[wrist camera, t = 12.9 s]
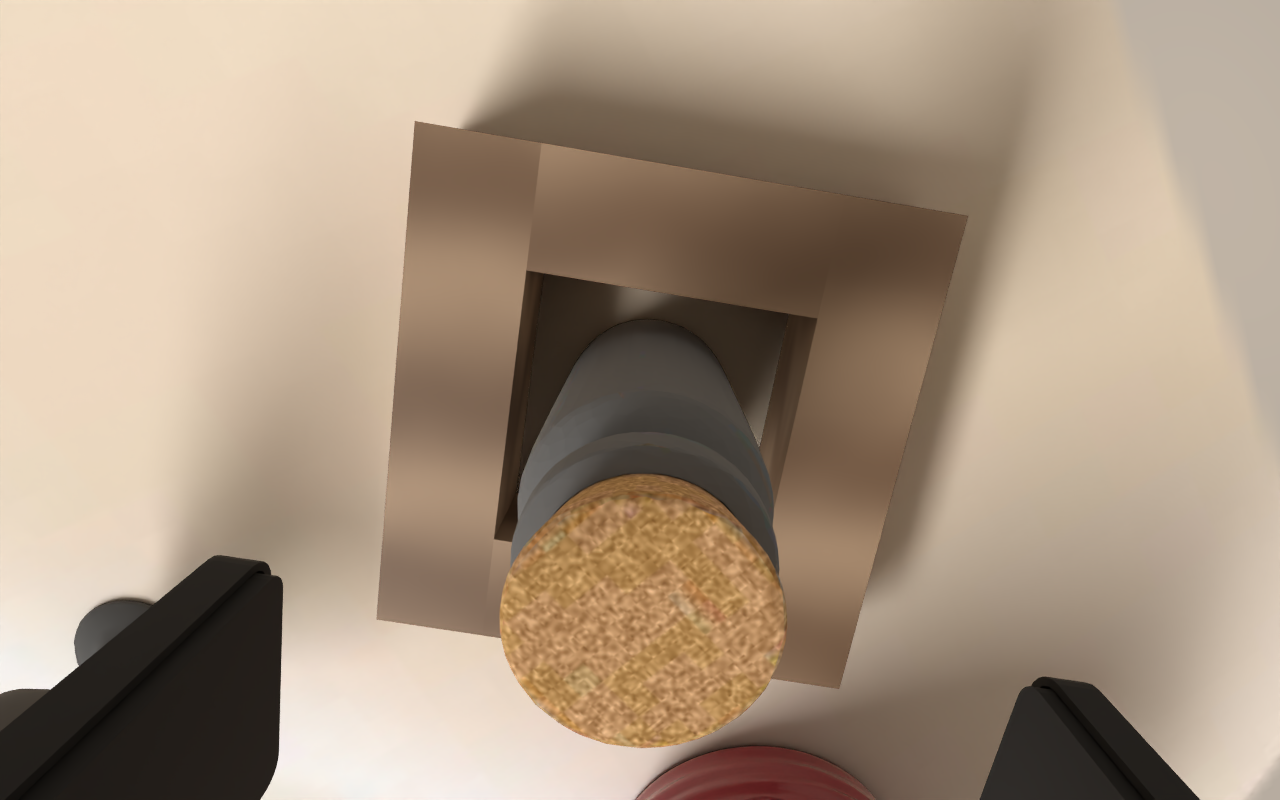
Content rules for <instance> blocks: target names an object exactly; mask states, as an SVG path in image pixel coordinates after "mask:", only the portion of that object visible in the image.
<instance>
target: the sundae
mask: <svg viewBox="0 0 1280 800" xmlns="http://www.w3.org/2000/svg"><path fill="white" fill-rule="evenodd" d="M150 607H151V606H150V605H147V604H144V603H141V602H134V601H113V602H109V603H105V604H103V605H100V606H98V607H95V608H94V609H93V610H92V611H90V612H89V613H88V614H87V615H86V616H85V617H84V618H83V619H82V620H81V622H80V624H79V626H78V629H77V631H76V635H75V640H74V645H75V653H76V658H77V663H78V665H79V666H80V665H81V664H82V663H84V662H85V661H86V660H87V659H88V658H90V657H91V656H92V655H93V654H94V653H96V652H97V651H98V650H99V649H101V648H102V647H103V646H104V645H105V644H107V643H108V642H109V641H110V640H111V639H113V638H114V637H115V636H116V635H117V634H119V633H120V632H121V631H122V630H124V629H125V628H126V627H127V626H128V625H130V624H131V623H132V622H133V621H134V620H136V619H137V618H138V617H139V616H140V615H142V614H143V613H144V612H145V611H147V610H148V609H149V608H150ZM48 691H50V690H49V689H17V690H12V691H8V692H4V693H2V694H0V731H1V730H2V729H4V728H5V727H6V726H7V725H9V724H10V723H11V722H12V721H13V720H15V719H16V718H17V717H18V716H19V715H21V714H22V713H23V712H24V711H25V710H27V709H28V708H29V707H30V706H32V705H33V704H34V703H35V702H36V701H38V700H39V699H40V698H41V697H42V696H44V695H45V694H46V693H47V692H48Z"/></svg>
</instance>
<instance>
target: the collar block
mask: <svg viewBox="0 0 1280 800" xmlns="http://www.w3.org/2000/svg"><path fill="white" fill-rule="evenodd" d="M967 218H968V216H965V215H959V214H954V213H948V212H942V211H936V210H930V209H924V208H919V207H913V206H907V205H901V204H895V203H889V202H884V201H878V200H872V199H866V198H860V197H854V196H849V195H843V194H837V193H831V192H825V191H819V190H814V189H808V188H802V187H796V186H790V185H784V184H779V183H773V182H767V181H761V180H755V179H749V178H744V177H738V176H732V175H726V174H720V173H714V172H709V171H703V170H697V169H691V168H685V167H679V166H674V165H668V164H662V163H656V162H650V161H644V160H639V159H633V158H627V157H621V156H615V155H609V154H603V153H598V152H592V151H586V150H580V149H574V148H568V147H563V146H557V145H551V144H545V143H539V142H533V141H528V140H522V139H516V138H510V137H504V136H498V135H493V134H487V133H481V132H475V131H469V130H463V129H458V128H452V127H446V126H440V125H434V124H428V123H423V122H417V121H415V126H414V139H413V152H412V165H411V178H410V191H409V204H408V217H407V230H406V243H405V256H404V269H403V282H402V295H401V308H400V321H399V334H398V347H397V360H396V373H395V386H394V399H393V412H392V425H391V438H390V451H389V464H388V477H387V490H386V503H385V516H384V529H383V542H382V555H381V568H380V581H379V594H378V608H377V620H384V621H391V622H397V623H404V624H411V625H417V626H424V627H431V628H437V629H444V630H451V631H457V632H464V633H471V634H477V635H484V636H491V637H497V638H501V635H500V605H501V598H502V592H503V588H504V585H505V581H506V578H507V575H508V573H509V571H510V560H511V546H512V540H513V535H514V532H515V529H516V526H517V523H518V493H516V490H517V482H518V474H519V466H520V458H521V450H522V442H523V434H524V427H525V419H526V411H527V403H528V395H529V387H530V379H531V372H532V364H533V356H534V348H535V340H536V332H537V324H538V316H539V309H540V301H541V293H542V285H543V277H544V273H546V274H552V275H558V276H564V277H570V278H576V279H582V280H588V281H594V282H600V283H606V284H612V285H618V286H624V287H630V288H636V289H642V290H648V291H654V292H661V293H667V294H673V295H679V296H685V297H691V298H697V299H703V300H709V301H715V302H721V303H727V304H733V305H739V306H745V307H751V308H757V309H763V310H769V311H775V312H781V313H787V314H789V316H788V321H787V325H786V330H785V334H784V339H783V344H782V348H781V353H780V357H779V362H778V367H777V371H776V376H775V380H774V385H773V390H772V394H771V399H770V403H769V408H768V413H767V417H766V422H765V426H764V431H763V435H762V440H761V445H760V449H759V450H760V453H761V455H762V458H763V460H764V463H765V465H766V468H767V470H768V473H769V476H770V481H771V486H772V491H773V500H774V517H773V530H774V533H775V536H776V541H777V547H778V555H779V569H780V570H779V578H780V581H781V584H782V587H783V590H784V595H785V600H786V606H787V634H786V641H785V645H784V649H783V653H782V657H781V659H780V662H779V664H778V666H777V669H776V671H775V672H774V674H773V676H772V678H771V679H777V680H784V681H791V682H797V683H804V684H811V685H817V686H824V687H831V688H837V689H839V687H840V684H841V680H842V676H843V673H844V669H845V665H846V662H847V658H848V654H849V651H850V647H851V643H852V640H853V636H854V632H855V629H856V625H857V621H858V618H859V614H860V610H861V607H862V603H863V599H864V596H865V592H866V588H867V585H868V581H869V577H870V574H871V570H872V566H873V563H874V559H875V555H876V552H877V548H878V544H879V541H880V537H881V533H882V530H883V526H884V522H885V519H886V515H887V511H888V508H889V504H890V500H891V497H892V493H893V489H894V486H895V482H896V478H897V475H898V471H899V467H900V464H901V460H902V456H903V453H904V449H905V445H906V442H907V438H908V434H909V431H910V427H911V423H912V420H913V416H914V412H915V409H916V405H917V401H918V398H919V394H920V390H921V387H922V383H923V379H924V376H925V372H926V368H927V365H928V361H929V357H930V354H931V350H932V346H933V343H934V339H935V335H936V332H937V328H938V324H939V321H940V317H941V313H942V310H943V306H944V302H945V299H946V295H947V291H948V288H949V284H950V280H951V277H952V273H953V269H954V266H955V262H956V258H957V255H958V251H959V247H960V244H961V240H962V236H963V233H964V229H965V225H966V222H967Z"/></svg>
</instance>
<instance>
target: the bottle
mask: <svg viewBox="0 0 1280 800" xmlns="http://www.w3.org/2000/svg"><path fill="white" fill-rule="evenodd" d="M773 517H774V500H773V491H772V486H771V481H770V476H769V473H768V470H767V468H766V465H765V463H764V460H763V458H762V455H761V453H760V450H759V448H758V445H757V443H756V440H755V438H754V435H753V433H752V431H751V429H750V426H749V424H748V422H747V420H746V418H745V416H744V413H743V411H742V409H741V407H740V405H739V403H738V401H737V398H736V396H735V394H734V392H733V390H732V388H731V386H730V383H729V381H728V379H727V377H726V375H725V373H724V371H723V368H722V367H721V365H720V363H719V361H718V360H717V358H716V356H715V355H714V354H713V352H712V351H711V350H710V348H709V347H708V346H707V345H706V344H705V343H704V342H703V341H702V340H701V339H700V338H698V337H697V336H696V335H694V334H693V333H691V332H690V331H688V330H687V329H685V328H683V327H681V326H678V325H675V324H672V323H669V322H665V321H660V320H635V321H629V322H626V323H623V324H620V325H617V326H615V327H612V328H610V329H609V330H607V331H606V332H604V333H602V334H601V335H599V336H598V337H597V338H596V339H594V340H593V341H592V342H591V343H590V344H589V345H588V347H587V348H586V349H585V350H584V351H583V353H582V354H581V355H580V357H579V359H578V360H577V362H576V363H575V365H574V367H573V369H572V371H571V372H570V374H569V376H568V378H567V380H566V382H565V384H564V386H563V388H562V390H561V392H560V394H559V396H558V398H557V400H556V402H555V403H554V405H553V407H552V409H551V411H550V413H549V415H548V417H547V420H546V422H545V424H544V426H543V428H542V430H541V432H540V434H539V436H538V438H537V440H536V442H535V444H534V446H533V448H532V451H531V453H530V455H529V458H528V461H527V463H526V466H525V469H524V471H523V474H522V477H521V482H520V488H519V493H518V523H517V526H516V529H515V532H514V535H513V540H512V546H511V560H510V571H509V573H508V575H507V578H506V581H505V585H504V588H503V592H502V598H501V605H500V635H501V639H502V643H503V648H504V652H505V656H506V658H507V661H508V663H509V665H510V668H511V670H512V672H513V673H514V675H515V677H516V679H517V681H518V682H519V684H520V685H521V686H522V688H523V689H524V690H525V691H526V693H527V694H528V695H529V697H530V698H531V699H532V700H533V702H534V703H535V704H536V705H537V706H538V707H539V708H541V709H542V710H543V711H544V712H546V713H547V714H548V715H549V716H551V717H552V718H553V719H555V720H556V721H557V722H559V723H560V724H562V725H563V726H565V727H566V728H568V729H570V730H572V731H574V732H576V733H578V734H580V735H582V736H585V737H588V738H591V739H594V740H597V741H600V742H603V743H606V744H613V745H620V746H628V747H637V748H651V747H665V746H671V745H678V744H682V743H685V742H689V741H692V740H695V739H699V738H701V737H703V736H706V735H708V734H711V733H713V732H715V731H717V730H719V729H720V728H722V727H723V726H725V725H726V724H728V723H729V722H731V721H733V720H734V719H736V718H737V717H739V716H740V715H741V714H742V713H743V712H744V711H746V710H747V709H748V708H749V707H750V706H751V705H752V704H753V703H754V702H755V700H756V699H757V698H758V697H759V696H760V695H761V694H762V692H763V691H764V690H765V689H766V687H767V685H768V683H769V682H770V680H771V678H772V676H773V674H774V672H775V671H776V669H777V666H778V664H779V662H780V659H781V657H782V653H783V649H784V645H785V641H786V634H787V606H786V600H785V595H784V590H783V587H782V584H781V581H780V578H779V570H780V569H779V555H778V547H777V541H776V536H775V533H774V530H773Z"/></svg>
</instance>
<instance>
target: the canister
mask: <svg viewBox="0 0 1280 800" xmlns="http://www.w3.org/2000/svg"><path fill="white" fill-rule="evenodd" d="M636 800H876V799H875V798H874V796H873V795H872V794H871V793H870V792H869V791H868V789H867V788H866V787H865V786H864V785H862V784H861V783H860V782H859V781H858V780H857V779H856V778H854V777H853V776H852V775H850V774H849V773H847V772H846V771H844V770H843V769H841V768H840V767H838V766H836V765H834V764H832V763H830V762H828V761H826V760H824V759H822V758H819V757H816V756H814V755H811V754H807V753H804V752H801V751H796V750H792V749H786V748H780V747H769V746H747V747H736V748H729V749H724V750H719V751H715V752H711V753H707V754H704V755H701V756H698V757H696V758H693V759H691V760H688V761H686V762H684V763H682V764H680V765H678V766H676V767H674V768H673V769H671V770H669V771H668V772H666V773H665V774H663V775H662V776H660V777H659V778H658V779H656V780H655V781H654V782H653V783H651V784H650V785H649V786H648V787H647V788H646V789H645V790H644V791H643V792H642V793H641V794H640V795H639V796H638V797H637V799H636Z"/></svg>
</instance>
